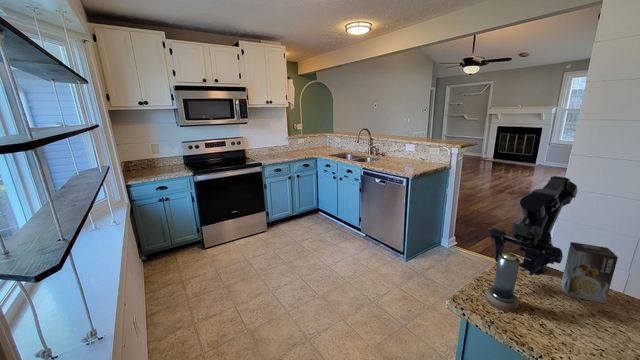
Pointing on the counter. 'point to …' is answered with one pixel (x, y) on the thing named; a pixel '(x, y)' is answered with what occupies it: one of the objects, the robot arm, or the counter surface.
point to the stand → (500, 304)
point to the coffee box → (588, 272)
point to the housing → (505, 278)
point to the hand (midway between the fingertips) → (512, 267)
